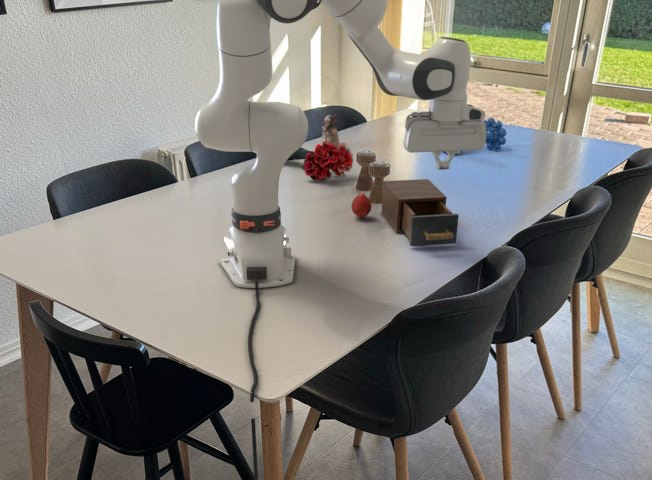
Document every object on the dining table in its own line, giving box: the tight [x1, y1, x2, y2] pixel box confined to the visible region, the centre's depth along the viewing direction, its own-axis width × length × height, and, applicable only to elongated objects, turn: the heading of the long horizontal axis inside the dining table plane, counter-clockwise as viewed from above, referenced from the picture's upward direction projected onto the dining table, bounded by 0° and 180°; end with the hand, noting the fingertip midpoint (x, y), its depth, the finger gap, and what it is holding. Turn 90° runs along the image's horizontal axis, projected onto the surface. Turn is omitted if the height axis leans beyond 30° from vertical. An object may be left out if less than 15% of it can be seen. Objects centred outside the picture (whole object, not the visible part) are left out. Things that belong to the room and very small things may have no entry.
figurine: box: [320, 114, 340, 147], centre depth 272 cm, size 7×7×12 cm
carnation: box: [286, 142, 354, 182], centre depth 241 cm, size 16×18×35 cm
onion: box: [351, 191, 373, 220], centre depth 204 cm, size 6×6×8 cm
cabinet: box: [381, 178, 447, 234], centre depth 202 cm, size 17×14×10 cm
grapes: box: [482, 116, 507, 151], centre depth 270 cm, size 12×7×12 cm, turn 55°
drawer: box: [400, 200, 460, 247], centre depth 189 cm, size 21×13×8 cm, turn 11°
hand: (442, 169), depth 175 cm, fingers closed
